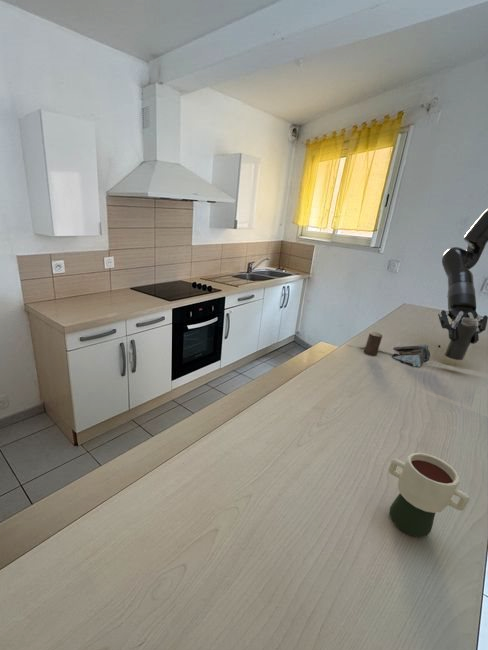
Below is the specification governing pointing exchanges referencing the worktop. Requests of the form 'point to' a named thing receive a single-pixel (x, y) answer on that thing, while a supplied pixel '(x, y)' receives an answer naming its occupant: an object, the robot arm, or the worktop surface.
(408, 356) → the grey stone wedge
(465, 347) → the pepper mill
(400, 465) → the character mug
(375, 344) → the cylinder
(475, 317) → the robot arm
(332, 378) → the worktop surface
